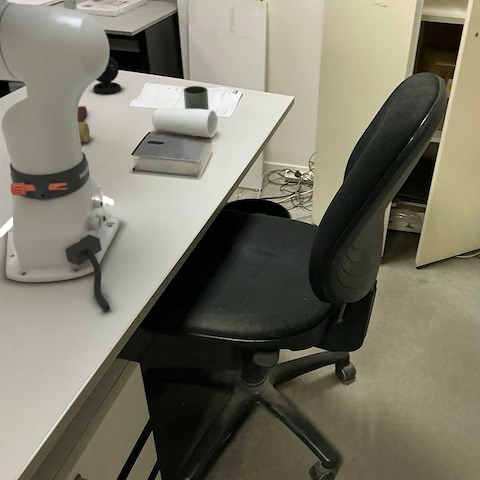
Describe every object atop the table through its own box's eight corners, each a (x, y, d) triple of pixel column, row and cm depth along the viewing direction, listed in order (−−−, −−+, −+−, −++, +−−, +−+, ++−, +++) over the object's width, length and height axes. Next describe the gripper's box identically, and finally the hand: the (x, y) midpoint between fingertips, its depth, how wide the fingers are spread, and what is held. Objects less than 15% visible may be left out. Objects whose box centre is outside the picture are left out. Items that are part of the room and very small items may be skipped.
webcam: (95, 96, 155) (89, 60, 149) (91, 87, 160) (84, 52, 155) (124, 92, 158) (119, 57, 153) (118, 84, 164) (113, 50, 158)
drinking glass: (163, 128, 143) (218, 133, 140) (151, 135, 137) (207, 141, 134) (161, 102, 140) (216, 107, 137) (148, 108, 134) (206, 113, 131)
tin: (209, 123, 144) (207, 94, 140) (186, 124, 143) (183, 94, 139) (208, 114, 149) (207, 85, 144) (186, 115, 148) (183, 86, 143)
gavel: (63, 98, 144) (103, 99, 145) (66, 115, 146) (105, 115, 147) (37, 125, 126) (83, 126, 127) (41, 144, 128) (86, 144, 130)
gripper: (52, -65, 96) (68, 18, 104) (114, -75, 113) (124, -3, 121) (20, -68, 97) (38, 14, 105) (86, -78, 114) (98, -6, 122)
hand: (84, 5), depth 113 cm, fingers open, 8 cm apart
